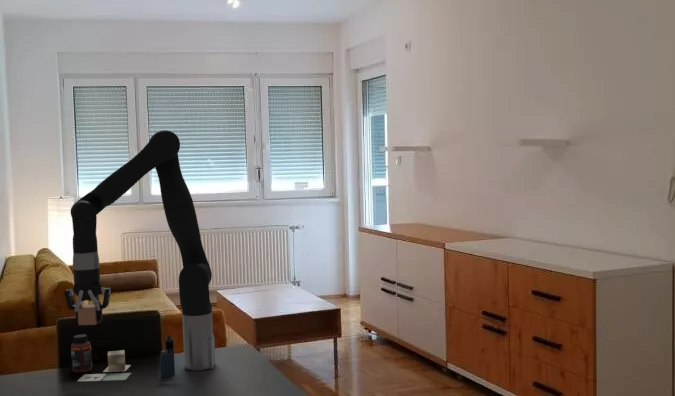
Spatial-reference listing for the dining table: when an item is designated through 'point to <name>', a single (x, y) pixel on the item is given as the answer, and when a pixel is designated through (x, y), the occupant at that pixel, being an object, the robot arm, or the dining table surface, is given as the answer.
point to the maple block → (116, 360)
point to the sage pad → (116, 376)
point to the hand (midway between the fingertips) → (89, 322)
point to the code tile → (92, 377)
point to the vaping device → (167, 359)
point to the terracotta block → (87, 315)
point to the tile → (118, 370)
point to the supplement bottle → (81, 354)
